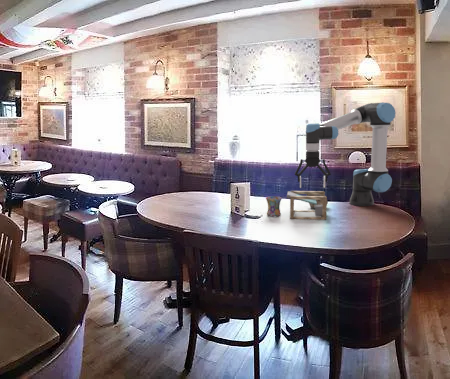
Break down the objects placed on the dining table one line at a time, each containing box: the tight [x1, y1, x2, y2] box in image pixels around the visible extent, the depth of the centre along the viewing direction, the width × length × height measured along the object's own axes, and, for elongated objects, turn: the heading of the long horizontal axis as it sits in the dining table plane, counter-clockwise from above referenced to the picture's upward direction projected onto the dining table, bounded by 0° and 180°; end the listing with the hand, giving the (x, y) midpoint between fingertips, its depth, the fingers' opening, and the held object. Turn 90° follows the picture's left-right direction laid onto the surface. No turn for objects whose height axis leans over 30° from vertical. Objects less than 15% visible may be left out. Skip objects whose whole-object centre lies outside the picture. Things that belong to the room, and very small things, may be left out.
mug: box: [265, 195, 282, 217], centre depth 239 cm, size 12×9×11 cm
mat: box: [294, 212, 322, 217], centre depth 236 cm, size 15×13×1 cm
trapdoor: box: [286, 191, 317, 205], centre depth 235 cm, size 17×14×2 cm
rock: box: [306, 194, 329, 209], centre depth 257 cm, size 14×10×8 cm
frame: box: [289, 190, 328, 221], centre depth 235 cm, size 20×18×13 cm
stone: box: [314, 204, 323, 216], centre depth 234 cm, size 5×5×6 cm
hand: (312, 187), depth 233 cm, fingers open, 13 cm apart
